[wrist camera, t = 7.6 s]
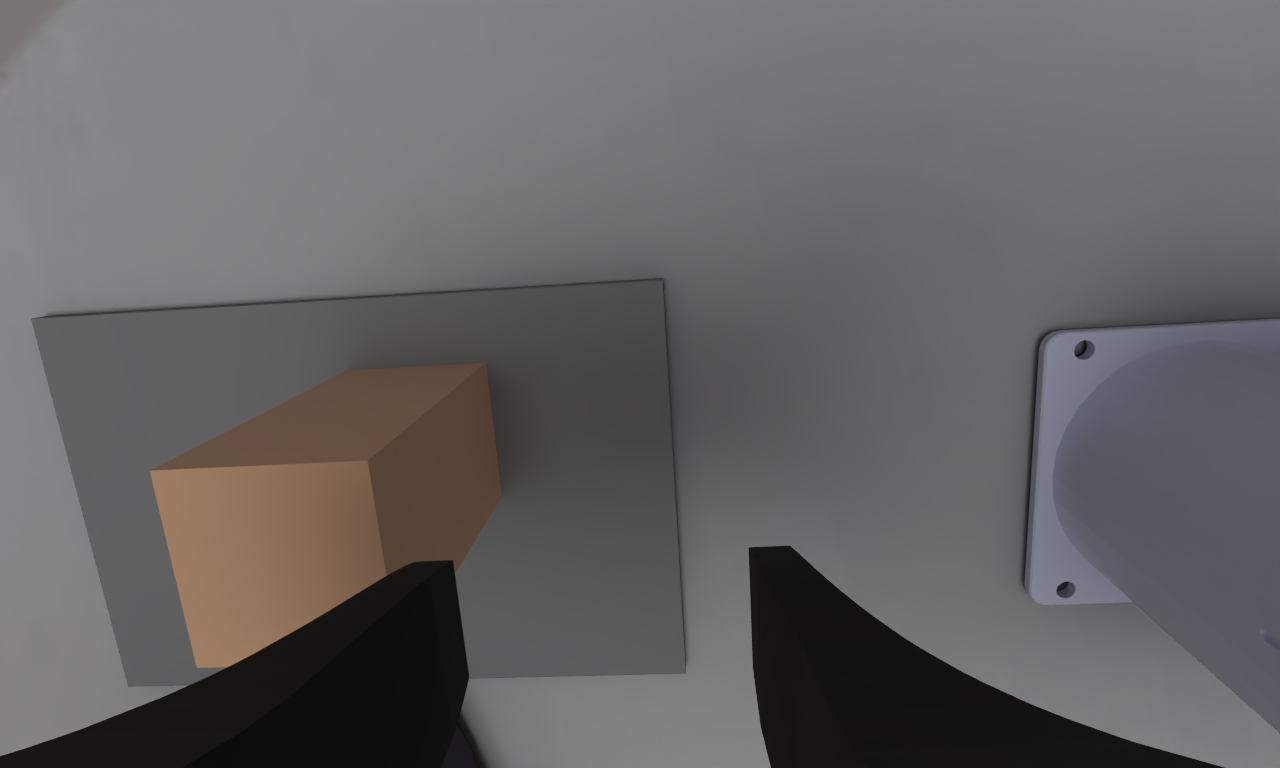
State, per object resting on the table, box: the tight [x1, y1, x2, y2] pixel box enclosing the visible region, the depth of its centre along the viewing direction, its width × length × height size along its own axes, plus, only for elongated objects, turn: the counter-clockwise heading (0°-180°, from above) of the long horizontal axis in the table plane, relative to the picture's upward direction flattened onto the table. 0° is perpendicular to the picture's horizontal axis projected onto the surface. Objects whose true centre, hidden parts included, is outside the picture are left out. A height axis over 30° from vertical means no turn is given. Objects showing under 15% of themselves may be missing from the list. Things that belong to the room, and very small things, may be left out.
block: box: [150, 363, 502, 668], centre depth 17 cm, size 4×4×8 cm
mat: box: [31, 278, 686, 687], centre depth 22 cm, size 18×12×1 cm, turn 94°
